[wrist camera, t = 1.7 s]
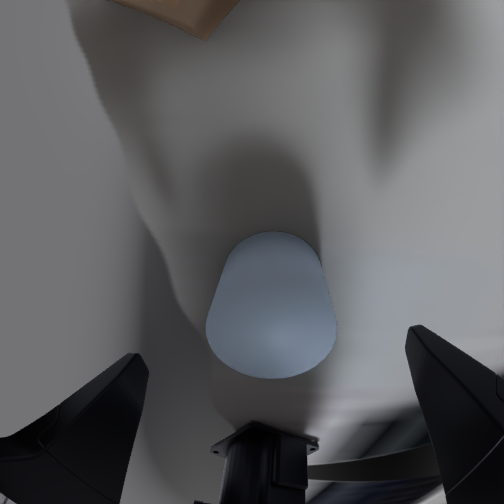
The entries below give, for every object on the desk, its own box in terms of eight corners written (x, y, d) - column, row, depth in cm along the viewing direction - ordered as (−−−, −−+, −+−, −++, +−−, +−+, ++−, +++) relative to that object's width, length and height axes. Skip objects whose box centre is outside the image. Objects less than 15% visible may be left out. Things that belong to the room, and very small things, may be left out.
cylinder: (281, 330, 14) (281, 392, 11) (206, 285, 13) (183, 342, 10) (341, 268, 13) (363, 323, 9) (261, 210, 12) (254, 251, 8)
